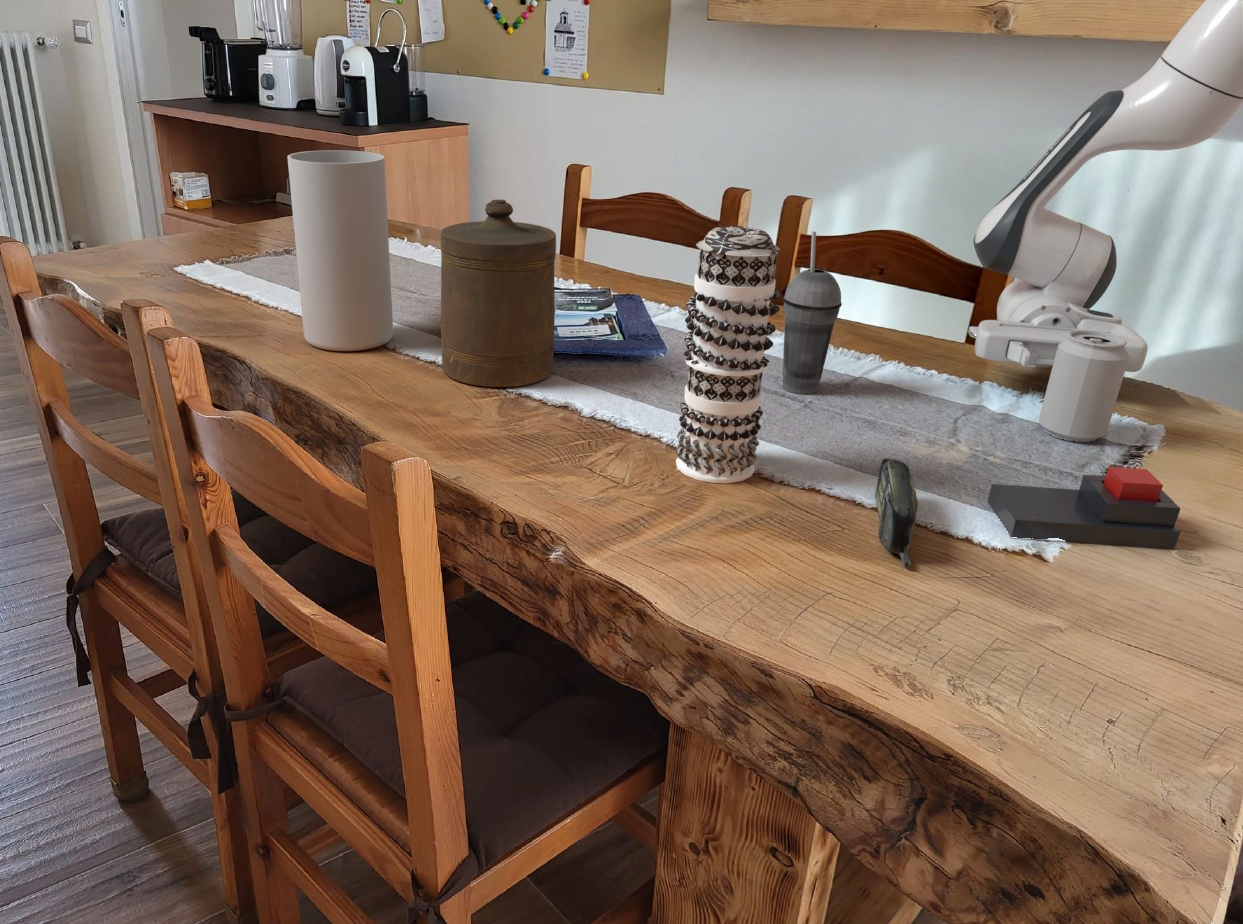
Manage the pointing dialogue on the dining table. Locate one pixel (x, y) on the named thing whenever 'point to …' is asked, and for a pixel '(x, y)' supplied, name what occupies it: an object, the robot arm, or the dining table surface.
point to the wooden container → (497, 300)
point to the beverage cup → (808, 326)
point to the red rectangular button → (1132, 484)
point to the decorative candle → (727, 354)
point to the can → (1084, 385)
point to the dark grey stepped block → (1086, 515)
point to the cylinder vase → (342, 248)
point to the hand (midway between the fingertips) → (1071, 364)
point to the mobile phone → (896, 508)
